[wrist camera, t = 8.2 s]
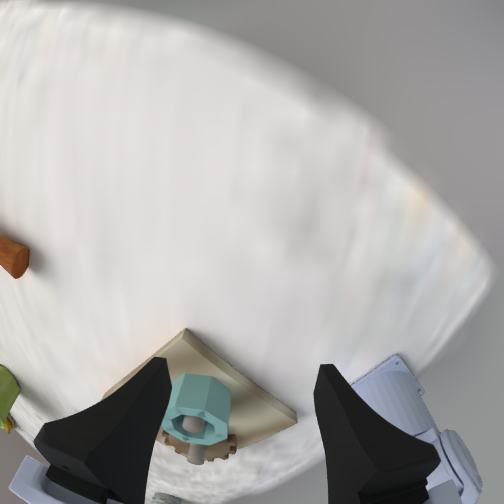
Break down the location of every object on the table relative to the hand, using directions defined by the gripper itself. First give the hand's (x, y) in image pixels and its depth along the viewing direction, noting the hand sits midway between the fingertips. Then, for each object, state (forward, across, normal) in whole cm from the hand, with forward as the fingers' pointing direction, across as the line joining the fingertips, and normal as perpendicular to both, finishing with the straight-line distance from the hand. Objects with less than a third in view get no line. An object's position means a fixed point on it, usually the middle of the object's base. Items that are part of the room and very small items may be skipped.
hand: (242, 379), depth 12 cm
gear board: (+9, +6, +15) cm, 18 cm away
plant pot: (+10, +40, +21) cm, 46 cm away
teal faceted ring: (+8, +4, +10) cm, 14 cm away
